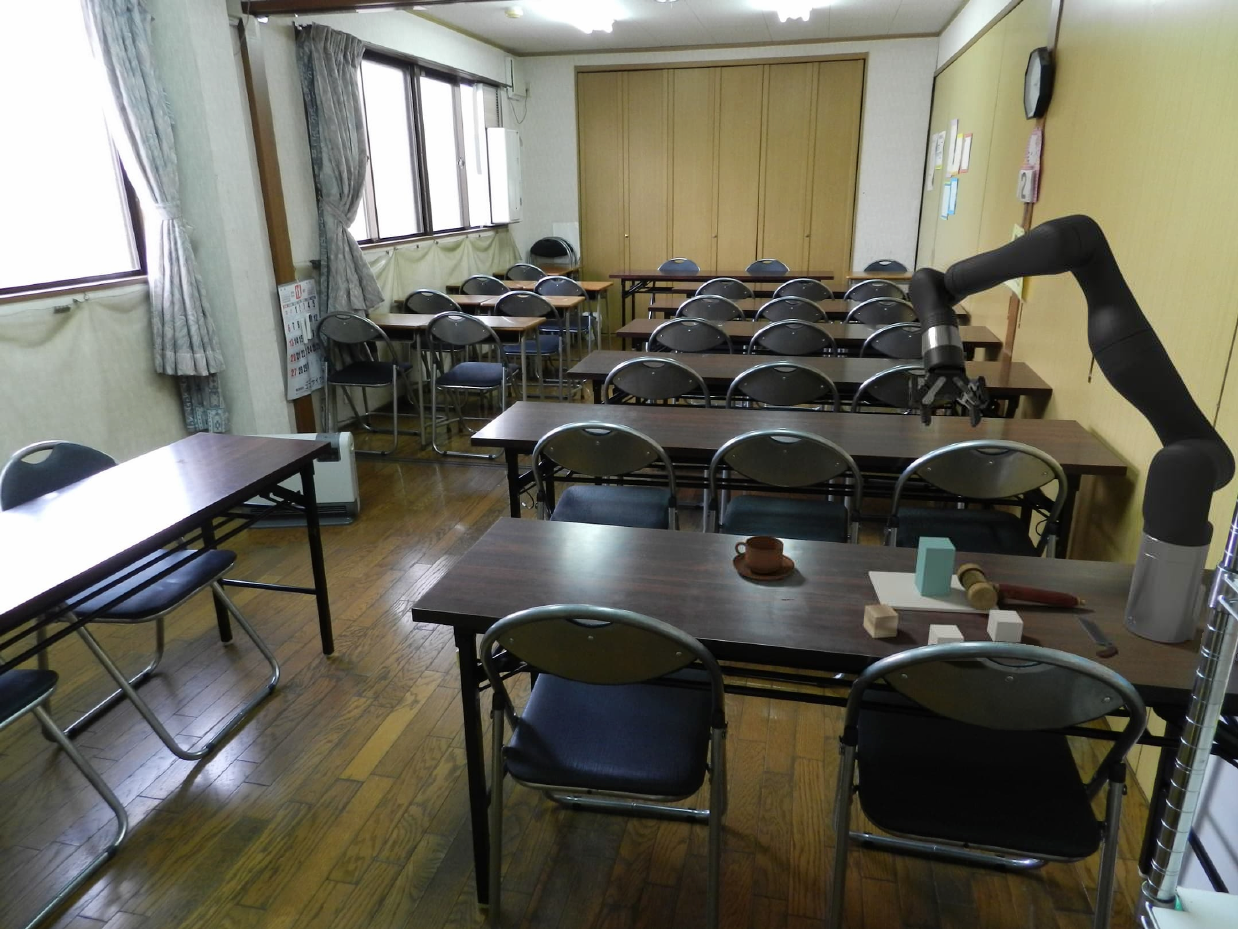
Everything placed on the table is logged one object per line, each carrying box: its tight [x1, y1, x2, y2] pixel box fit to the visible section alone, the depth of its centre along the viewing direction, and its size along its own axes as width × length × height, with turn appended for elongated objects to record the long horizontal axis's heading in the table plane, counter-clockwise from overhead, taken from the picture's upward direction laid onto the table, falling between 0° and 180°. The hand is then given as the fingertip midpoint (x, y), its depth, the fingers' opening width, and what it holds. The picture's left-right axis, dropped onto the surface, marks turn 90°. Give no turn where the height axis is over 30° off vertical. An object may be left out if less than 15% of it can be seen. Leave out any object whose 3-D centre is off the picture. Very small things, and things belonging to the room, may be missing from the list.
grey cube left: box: [986, 609, 1024, 643], centre depth 133 cm, size 4×4×4 cm
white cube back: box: [927, 624, 965, 646], centre depth 128 cm, size 4×4×4 cm
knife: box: [1072, 614, 1118, 659], centre depth 133 cm, size 14×4×1 cm, turn 171°
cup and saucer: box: [732, 535, 795, 581], centre depth 157 cm, size 12×12×6 cm
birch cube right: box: [863, 603, 899, 639], centre depth 135 cm, size 4×4×4 cm
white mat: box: [868, 570, 1000, 615], centre depth 148 cm, size 20×14×1 cm
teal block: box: [915, 536, 957, 597], centre depth 147 cm, size 5×5×10 cm
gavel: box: [956, 562, 1087, 611], centre depth 143 cm, size 21×5×10 cm
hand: (951, 424), depth 152 cm, fingers open, 8 cm apart
